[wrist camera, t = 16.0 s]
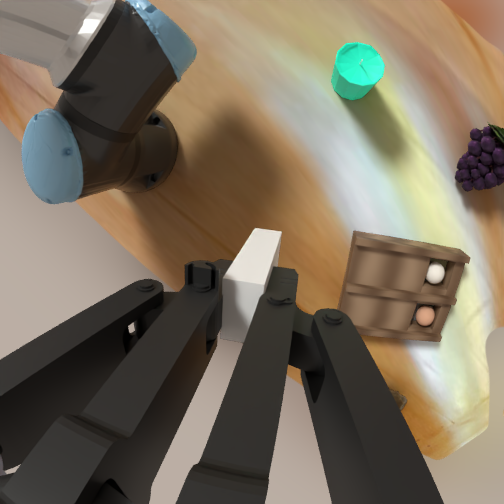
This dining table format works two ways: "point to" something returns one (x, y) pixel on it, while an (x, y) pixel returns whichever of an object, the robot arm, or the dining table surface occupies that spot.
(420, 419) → the dining table surface
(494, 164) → the fruit
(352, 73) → the candle
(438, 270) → the ball cream
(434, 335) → the board
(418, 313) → the ball terracotta
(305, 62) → the dining table surface
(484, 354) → the dining table surface
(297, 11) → the dining table surface
